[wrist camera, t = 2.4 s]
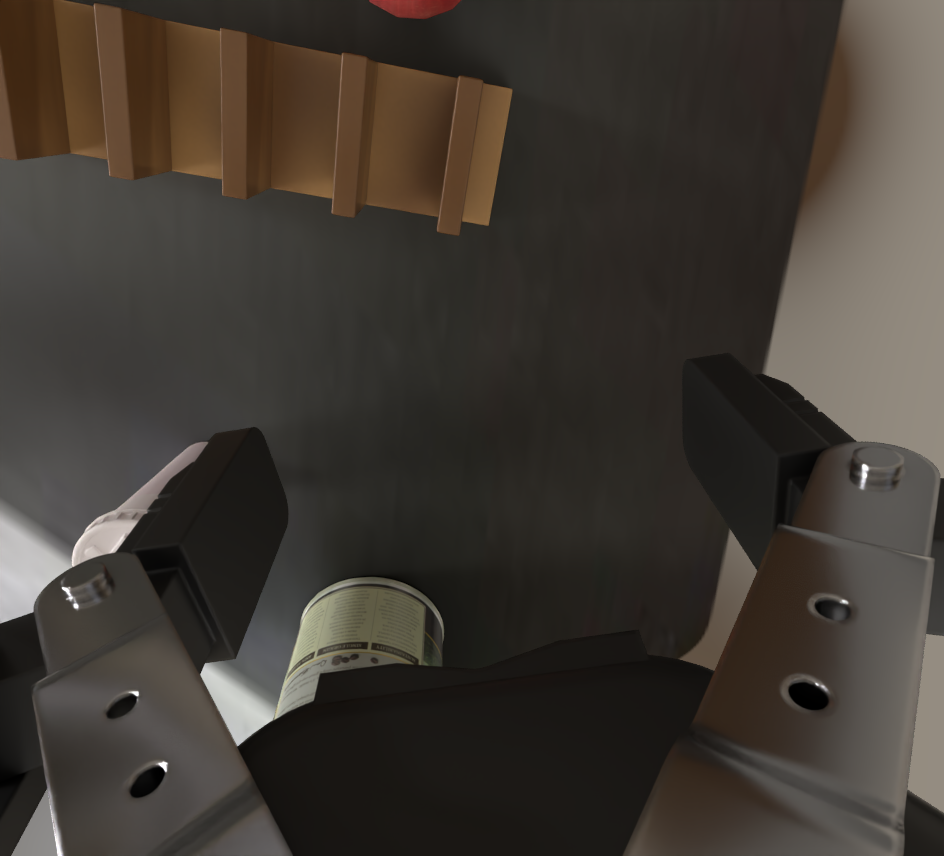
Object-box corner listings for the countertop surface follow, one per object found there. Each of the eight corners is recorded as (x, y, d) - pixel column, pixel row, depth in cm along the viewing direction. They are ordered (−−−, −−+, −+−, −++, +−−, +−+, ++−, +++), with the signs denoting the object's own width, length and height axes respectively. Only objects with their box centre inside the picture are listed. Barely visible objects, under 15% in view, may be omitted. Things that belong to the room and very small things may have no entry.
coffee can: (474, 635, 45) (483, 840, 33) (369, 699, 48) (340, 910, 35) (377, 549, 41) (345, 744, 29) (269, 623, 44) (197, 831, 31)
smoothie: (252, 418, 36) (149, 581, 24) (274, 508, 39) (192, 695, 27) (143, 425, 36) (-17, 591, 24) (173, 514, 39) (45, 704, 27)
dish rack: (29, 141, 29) (-50, 149, 25) (7, -11, 27) (-85, -34, 22) (487, 221, 32) (493, 242, 27) (510, 89, 29) (521, 87, 24)
